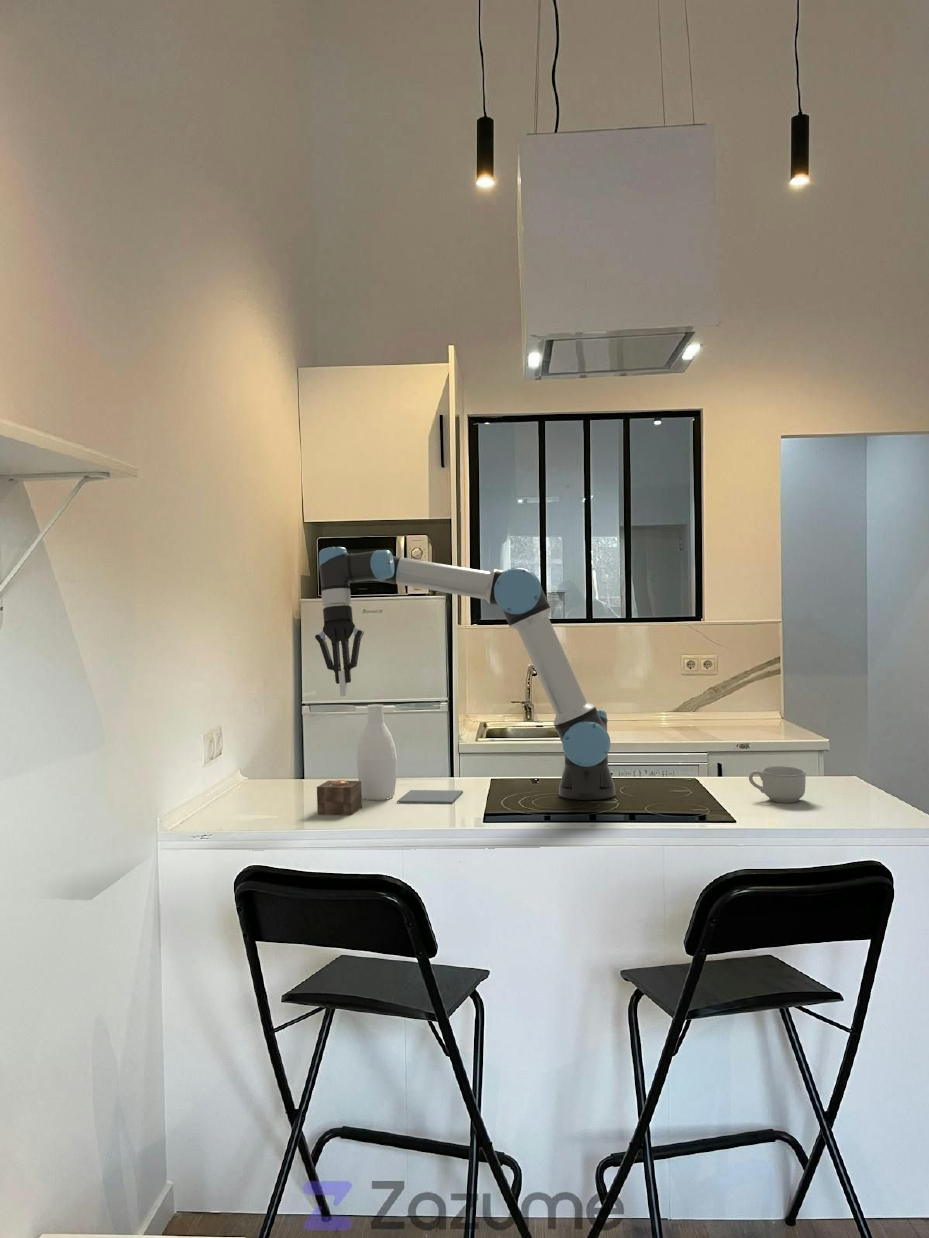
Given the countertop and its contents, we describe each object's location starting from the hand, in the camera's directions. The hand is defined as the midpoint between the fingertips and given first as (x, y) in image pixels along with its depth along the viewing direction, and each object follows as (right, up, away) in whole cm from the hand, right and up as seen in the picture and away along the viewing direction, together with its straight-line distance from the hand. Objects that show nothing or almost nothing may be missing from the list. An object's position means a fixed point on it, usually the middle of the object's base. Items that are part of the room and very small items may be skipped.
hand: (344, 695), depth 250 cm
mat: (+22, -29, +11) cm, 38 cm away
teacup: (+112, -27, -4) cm, 115 cm away
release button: (-1, -28, -3) cm, 28 cm away
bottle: (+7, -29, +14) cm, 33 cm away
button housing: (-1, -29, -3) cm, 30 cm away
